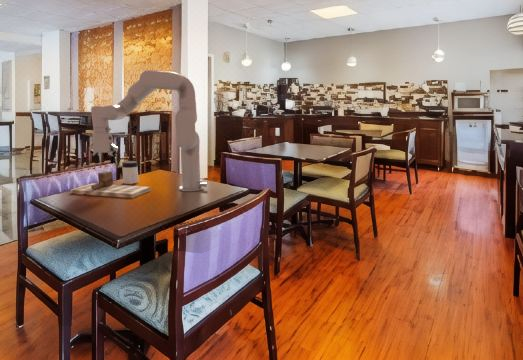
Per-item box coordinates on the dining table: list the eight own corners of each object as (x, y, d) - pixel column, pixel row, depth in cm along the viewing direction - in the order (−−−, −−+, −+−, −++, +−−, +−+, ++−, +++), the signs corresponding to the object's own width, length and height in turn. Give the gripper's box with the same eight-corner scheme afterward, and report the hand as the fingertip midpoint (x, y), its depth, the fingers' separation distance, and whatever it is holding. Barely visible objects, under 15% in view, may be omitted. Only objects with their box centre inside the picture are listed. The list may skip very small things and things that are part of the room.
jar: (126, 184, 213) (125, 163, 210) (120, 182, 218) (118, 162, 216) (141, 182, 219) (140, 162, 216) (135, 180, 224) (133, 160, 222)
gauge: (113, 184, 203) (111, 171, 202) (96, 189, 191) (95, 176, 189) (106, 184, 204) (105, 171, 203) (89, 189, 192) (88, 175, 190)
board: (150, 190, 198) (150, 186, 198) (132, 198, 183) (132, 193, 183) (92, 186, 208) (92, 183, 208) (70, 193, 193) (70, 189, 193)
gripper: (120, 129, 196) (123, 162, 199) (92, 129, 201) (96, 161, 204) (111, 130, 189) (114, 164, 192) (82, 131, 194) (86, 164, 197)
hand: (105, 163), depth 198 cm, fingers open, 9 cm apart
